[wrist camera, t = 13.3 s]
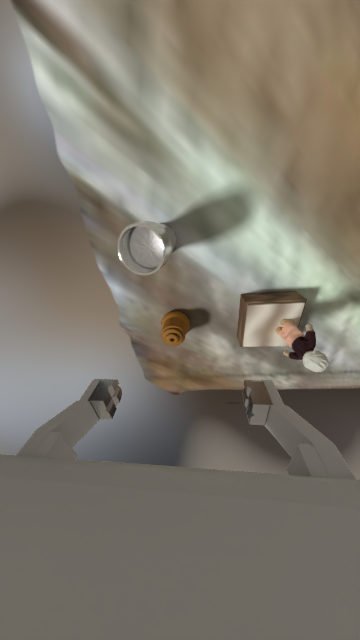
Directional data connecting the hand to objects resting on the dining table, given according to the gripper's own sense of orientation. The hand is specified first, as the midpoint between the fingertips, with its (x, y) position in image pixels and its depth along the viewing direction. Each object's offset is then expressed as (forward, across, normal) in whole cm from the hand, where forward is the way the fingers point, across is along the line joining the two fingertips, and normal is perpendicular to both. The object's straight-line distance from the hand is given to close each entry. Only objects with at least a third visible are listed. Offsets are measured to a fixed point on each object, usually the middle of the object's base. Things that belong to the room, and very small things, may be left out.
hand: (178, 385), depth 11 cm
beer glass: (+32, +6, -6) cm, 33 cm away
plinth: (+31, -17, +13) cm, 38 cm away
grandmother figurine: (+26, -20, +12) cm, 35 cm away
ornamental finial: (+32, +5, +14) cm, 35 cm away
